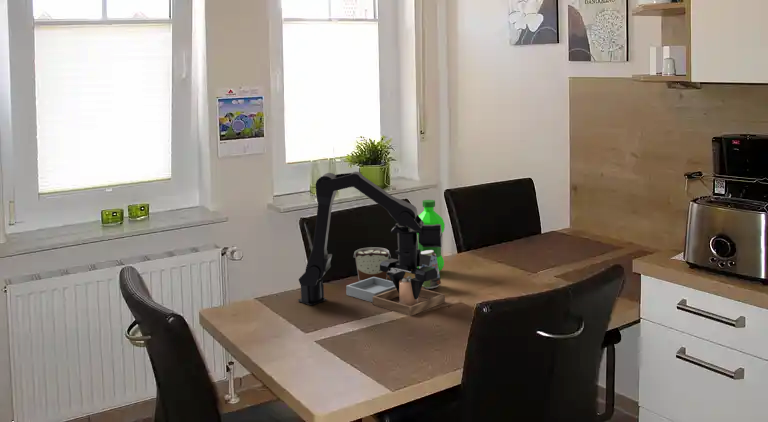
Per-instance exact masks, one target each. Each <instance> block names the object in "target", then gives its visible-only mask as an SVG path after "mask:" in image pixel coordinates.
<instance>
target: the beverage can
mask: <svg viewBox="0 0 768 422" xmlns="http://www.w3.org/2000/svg"><path fill="white" fill-rule="evenodd" d="M421 254H424V255H428V256H431V260H430V265H429V266H428V267H432V268H436V270H437V272H438V277H437V278H434V279H431V280H429V281H424V283H423V285H422V288H424V289H426V290H429V289H434V288H437V287H439V286H440V285H441V283H442V282H441V277H440V276H441V275H440V271H439V269H438V263H437V257H436V254H435V253H434V251H433V250H425V251H421ZM426 266H427V265H424V264H422V266H420V267H419V269H420V268H423V267H426Z"/></svg>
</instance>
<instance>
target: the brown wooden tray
mask: <svg viewBox="0 0 768 422" xmlns="http://www.w3.org/2000/svg"><path fill="white" fill-rule="evenodd" d="M398 297H399V293H398V291H397V289H393V290H390V291H387V292H384V293H382V294H379V295H376V296H373V302H372V305H373V306H377V307H380V308H384V309H387V310H391V311H393V312H397V313H400V314H405V315H408V316H414V315H417V314H420V313H421V312H423V311H426V310H429V309H432V308H433V307H434V308H435V307H436V306H439V305H441V304H444V303H446V294H444V293H442V292H437V291H434V290H429V289H427V288H423V287H422V288H421V291H420V293H419V296H418V297H420V298H423V299H425V300H423V301H421V302H418V304H415V305H413V306H408V305H404V304H401V303H400V302H396V301H392V299H395V298H398Z"/></svg>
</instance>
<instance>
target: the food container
mask: <svg viewBox="0 0 768 422" xmlns="http://www.w3.org/2000/svg"><path fill="white" fill-rule="evenodd" d="M353 258H355V265H356V271H357V278H358V282H359V281H362V280H365V279H368V278H371V277H377V278H381V279H385V280H388V275H387V273H388V272H383V271H380V264H381V262H382V261H384V260H388V259H391V258H392V257H391V253H390V250H388V249H387V248H384V247H372V246H370V247H363V248H359V249H357V250H355V251H354V253H353Z"/></svg>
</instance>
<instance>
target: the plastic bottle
mask: <svg viewBox="0 0 768 422" xmlns="http://www.w3.org/2000/svg"><path fill="white" fill-rule="evenodd" d="M421 203H422V207H423V211H422V212H421V213H420V214H418V216H419V217H420V218H421V220H422V221H423V222H424V225H435V224H441V230H442V234H443V233H444V231H445V227H446V226H445V225H446V224H445V221H444V219H443V217H442V216H441V215H439V214H438V212H437V211H435V209H434V208H436V201H435V199H424V200H422V202H421ZM417 249H420V251H425V250H433V251H434V253H435V254H436V257H437V263H438V269H439V272H441V271H442V269H443V268H444V265H445V260H444V258H443V255H442V247H423V246H422V245H421V244H419V233H417ZM417 268H419V266H418V267H417Z"/></svg>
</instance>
